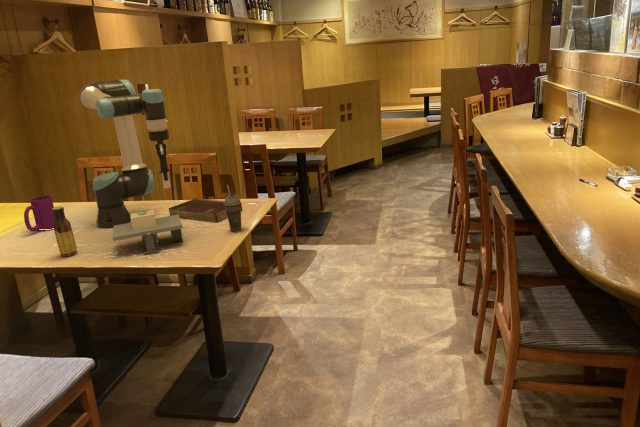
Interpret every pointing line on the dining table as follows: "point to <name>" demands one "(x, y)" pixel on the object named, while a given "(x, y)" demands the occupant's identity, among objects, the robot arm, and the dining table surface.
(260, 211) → the dining table surface
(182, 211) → the hardback book
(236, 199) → the beverage cup
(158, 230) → the instrument plate
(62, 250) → the sauce bottle
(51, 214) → the mug
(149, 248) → the pivot stand
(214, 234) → the dining table surface
